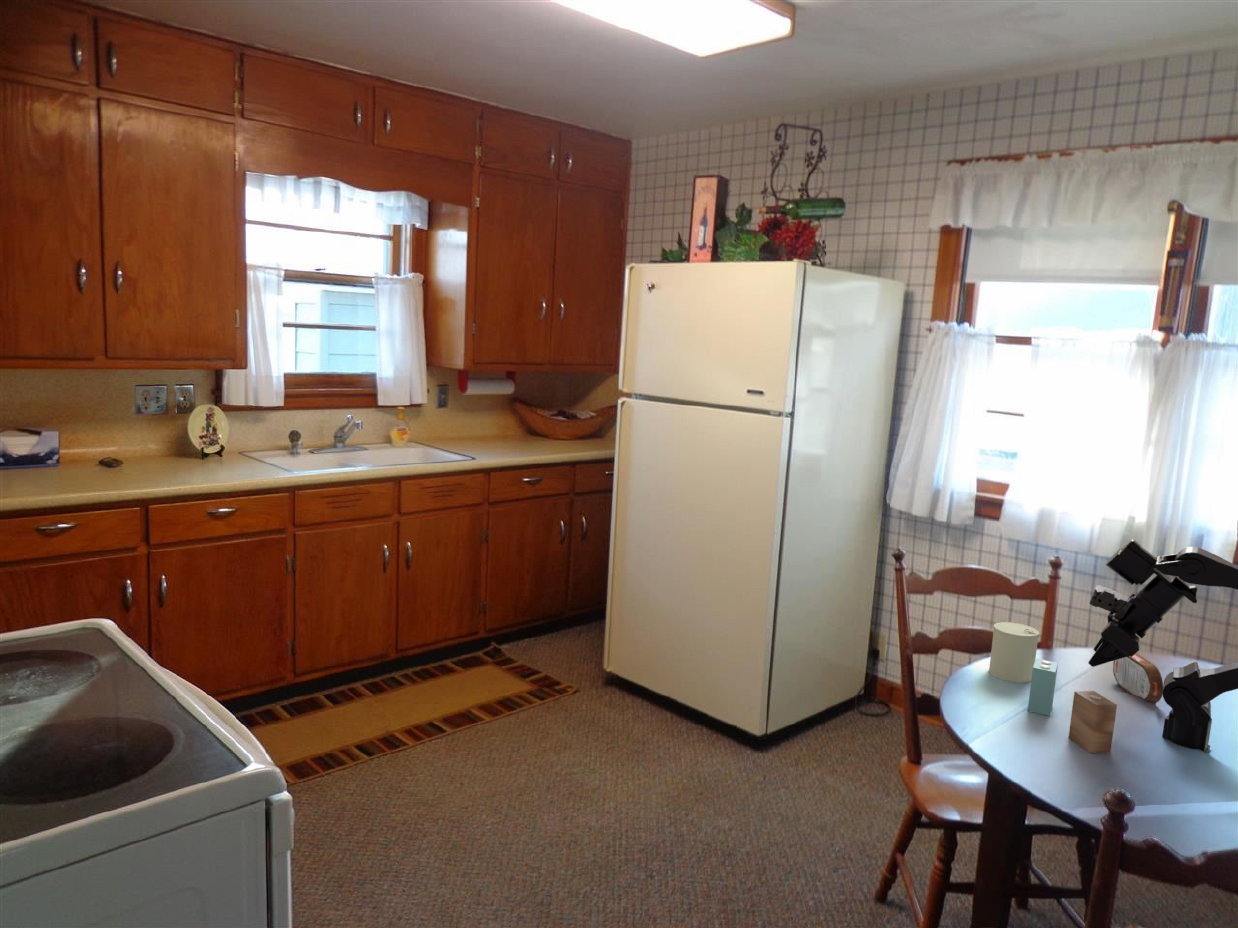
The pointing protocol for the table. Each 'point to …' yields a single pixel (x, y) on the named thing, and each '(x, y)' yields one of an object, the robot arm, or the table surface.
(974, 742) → the table surface
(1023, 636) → the can
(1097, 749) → the brown box
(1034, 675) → the teal block
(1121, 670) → the tin
